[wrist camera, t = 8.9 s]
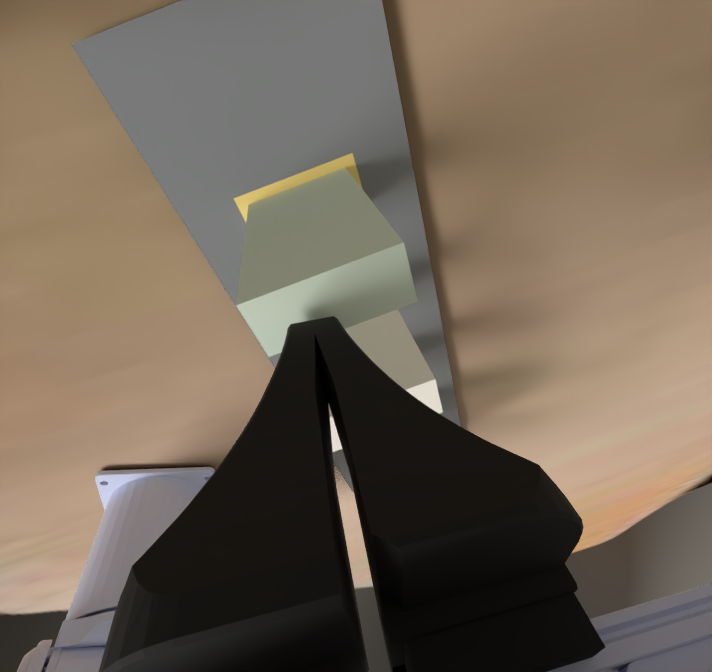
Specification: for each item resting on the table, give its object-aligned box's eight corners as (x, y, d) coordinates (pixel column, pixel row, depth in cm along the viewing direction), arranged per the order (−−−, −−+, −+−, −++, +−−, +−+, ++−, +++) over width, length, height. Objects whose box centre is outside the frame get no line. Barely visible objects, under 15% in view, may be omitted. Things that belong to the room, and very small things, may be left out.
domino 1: (357, 208, 18) (417, 301, 11) (267, 242, 18) (268, 357, 11) (345, 167, 17) (403, 242, 10) (248, 204, 17) (236, 305, 10)
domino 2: (384, 297, 21) (442, 412, 14) (308, 325, 21) (329, 453, 14) (375, 268, 20) (435, 378, 13) (295, 298, 20) (310, 424, 13)
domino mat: (461, 444, 34) (465, 451, 33) (351, 483, 34) (352, 491, 33) (363, -68, 13) (368, -75, 12) (80, 45, 13) (70, 44, 13)
